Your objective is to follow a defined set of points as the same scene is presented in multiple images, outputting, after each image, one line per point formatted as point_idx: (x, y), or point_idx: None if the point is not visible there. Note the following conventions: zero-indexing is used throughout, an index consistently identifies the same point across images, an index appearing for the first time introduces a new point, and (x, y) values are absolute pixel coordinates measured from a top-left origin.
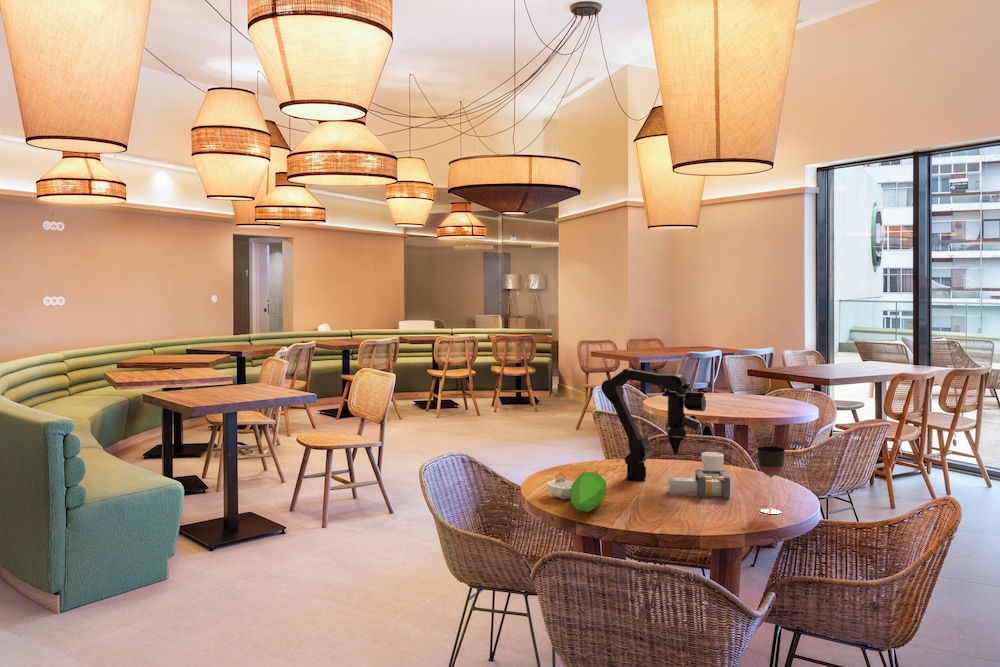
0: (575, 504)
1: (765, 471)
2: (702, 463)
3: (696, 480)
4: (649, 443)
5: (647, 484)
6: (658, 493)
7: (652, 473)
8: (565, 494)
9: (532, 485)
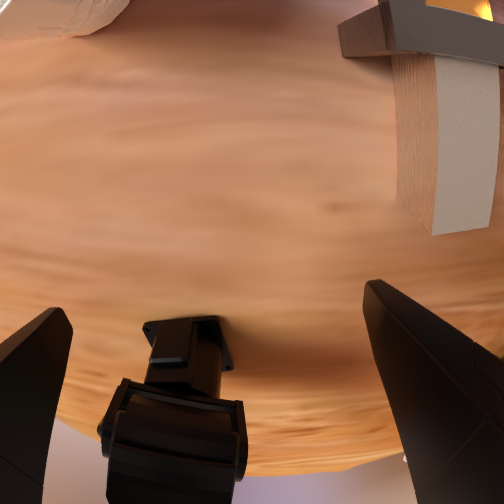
0: None
1: None
2: (45, 23)
3: (485, 71)
4: (111, 461)
5: (276, 299)
6: (428, 243)
7: (67, 292)
8: None
9: (332, 467)
